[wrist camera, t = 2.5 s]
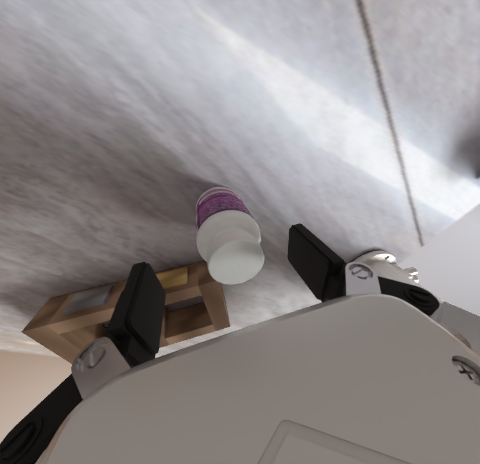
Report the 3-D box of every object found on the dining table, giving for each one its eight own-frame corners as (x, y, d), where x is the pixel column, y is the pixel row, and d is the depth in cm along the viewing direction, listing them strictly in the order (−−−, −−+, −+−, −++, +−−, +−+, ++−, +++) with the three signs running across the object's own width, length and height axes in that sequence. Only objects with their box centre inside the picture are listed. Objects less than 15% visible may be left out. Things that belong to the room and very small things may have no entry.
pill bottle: (184, 204, 18) (177, 263, 10) (224, 175, 18) (249, 213, 10) (214, 236, 21) (227, 302, 13) (249, 212, 21) (285, 265, 13)
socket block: (213, 256, 23) (216, 278, 19) (225, 303, 28) (230, 326, 25) (47, 296, 20) (18, 329, 17) (97, 339, 26) (82, 370, 22)
